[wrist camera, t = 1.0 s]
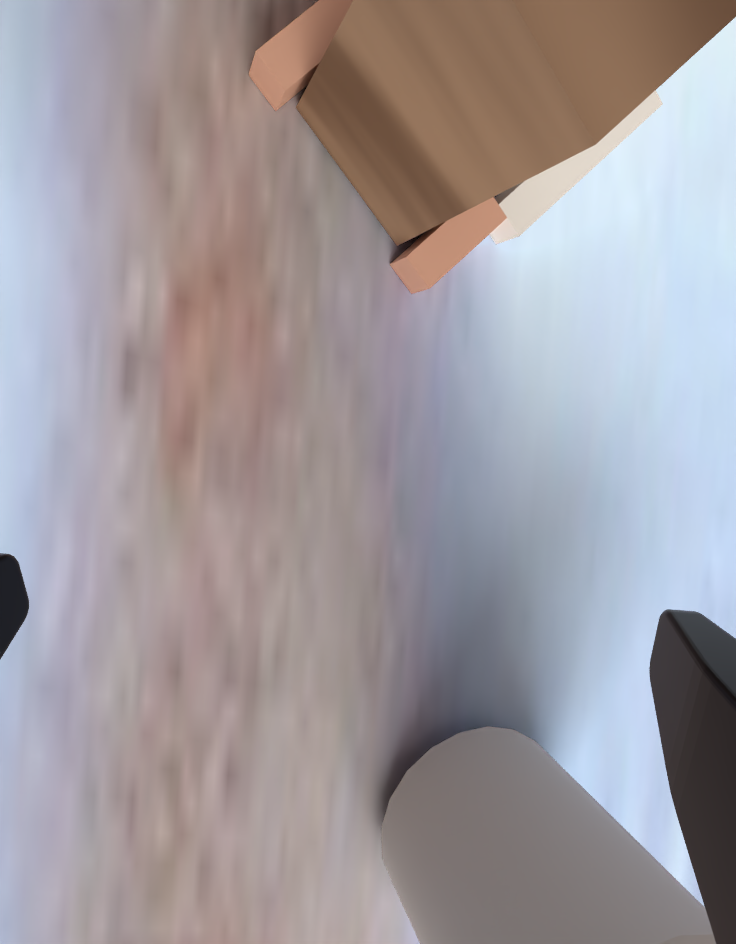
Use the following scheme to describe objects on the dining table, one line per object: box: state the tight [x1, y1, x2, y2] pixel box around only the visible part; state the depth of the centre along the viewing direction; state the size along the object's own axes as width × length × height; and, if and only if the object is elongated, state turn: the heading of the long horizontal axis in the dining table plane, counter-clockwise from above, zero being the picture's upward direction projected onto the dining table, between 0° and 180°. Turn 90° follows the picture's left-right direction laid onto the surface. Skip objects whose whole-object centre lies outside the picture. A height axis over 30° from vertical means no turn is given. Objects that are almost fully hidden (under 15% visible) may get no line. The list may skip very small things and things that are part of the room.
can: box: [381, 726, 716, 944], centre depth 20 cm, size 8×8×12 cm
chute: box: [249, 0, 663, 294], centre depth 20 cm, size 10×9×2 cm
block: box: [296, 0, 736, 246], centre depth 16 cm, size 5×5×10 cm
